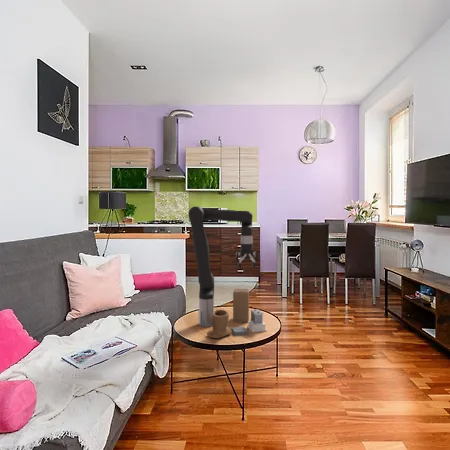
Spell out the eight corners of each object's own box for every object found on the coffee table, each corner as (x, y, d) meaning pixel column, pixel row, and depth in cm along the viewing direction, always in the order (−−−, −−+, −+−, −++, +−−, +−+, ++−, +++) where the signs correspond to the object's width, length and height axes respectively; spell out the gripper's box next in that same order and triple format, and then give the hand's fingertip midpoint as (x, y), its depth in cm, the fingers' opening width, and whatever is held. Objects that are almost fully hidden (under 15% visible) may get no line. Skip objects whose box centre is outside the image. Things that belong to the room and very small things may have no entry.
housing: (255, 325, 209) (255, 312, 209) (250, 320, 217) (250, 309, 216) (262, 324, 210) (263, 312, 210) (258, 320, 218) (258, 308, 218)
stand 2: (252, 332, 208) (252, 325, 208) (247, 327, 217) (247, 320, 217) (266, 330, 211) (266, 324, 210) (261, 326, 219) (261, 319, 219)
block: (248, 318, 236) (249, 288, 235) (248, 322, 226) (248, 292, 225) (234, 317, 236) (234, 288, 236) (232, 322, 227) (233, 291, 226)
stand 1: (235, 335, 203) (235, 332, 203) (231, 330, 211) (231, 327, 210) (248, 334, 205) (248, 330, 205) (243, 329, 213) (243, 326, 213)
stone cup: (217, 342, 193) (217, 315, 193) (204, 336, 202) (204, 310, 201) (237, 335, 203) (237, 310, 202) (223, 330, 212) (224, 305, 211)
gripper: (237, 243, 212) (237, 270, 213) (259, 243, 216) (259, 269, 217) (234, 242, 220) (233, 268, 220) (255, 241, 223) (255, 267, 224)
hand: (246, 268), depth 219 cm, fingers open, 8 cm apart
